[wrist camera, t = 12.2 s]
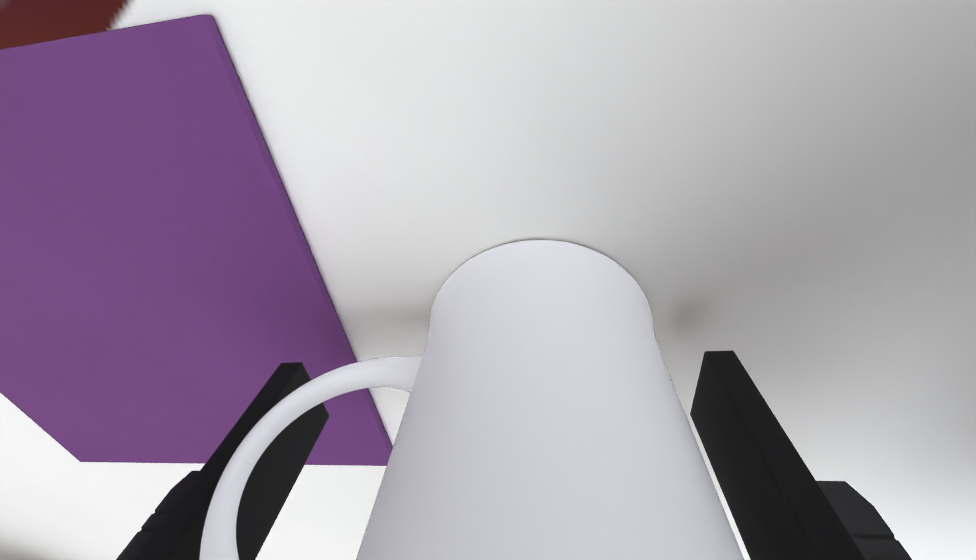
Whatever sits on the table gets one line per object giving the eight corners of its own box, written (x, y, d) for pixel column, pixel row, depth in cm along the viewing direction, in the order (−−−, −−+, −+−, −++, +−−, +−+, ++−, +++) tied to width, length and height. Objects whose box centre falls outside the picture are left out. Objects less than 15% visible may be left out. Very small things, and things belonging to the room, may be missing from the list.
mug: (339, 354, 17) (63, 827, 7) (364, 171, 12) (-361, 794, 2) (589, 425, 18) (664, 925, 8) (698, 282, 13) (1201, 1036, 3)
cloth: (212, 14, 10) (202, 14, 10) (397, 459, 21) (395, 466, 21) (-309, 104, 13) (-331, 106, 13) (86, 456, 24) (80, 462, 23)
